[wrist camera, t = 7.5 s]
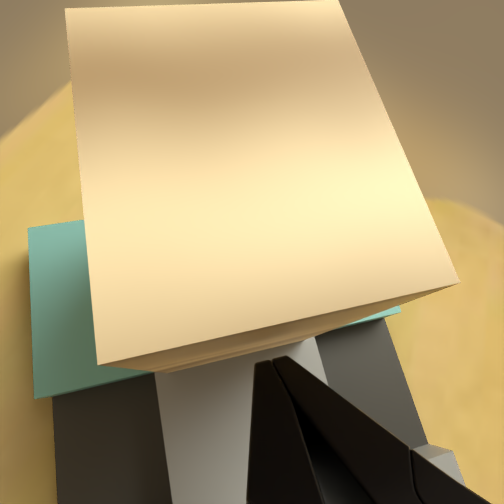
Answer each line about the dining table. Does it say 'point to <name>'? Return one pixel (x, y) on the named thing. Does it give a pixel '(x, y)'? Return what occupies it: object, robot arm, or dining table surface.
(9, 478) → the dining table surface
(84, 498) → the board
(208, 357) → the maple block
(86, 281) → the mint green slab
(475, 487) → the dining table surface
